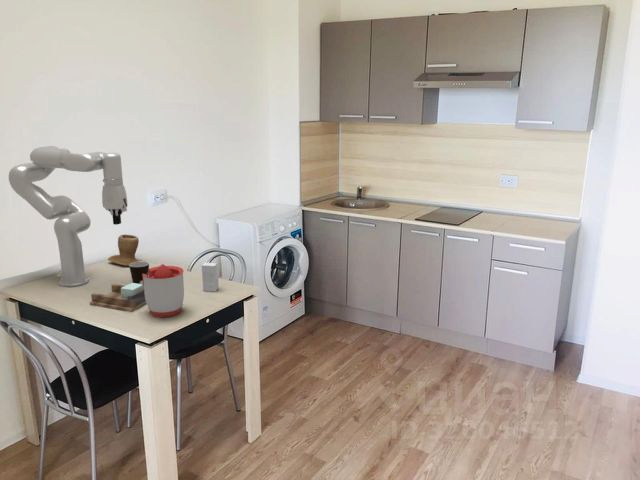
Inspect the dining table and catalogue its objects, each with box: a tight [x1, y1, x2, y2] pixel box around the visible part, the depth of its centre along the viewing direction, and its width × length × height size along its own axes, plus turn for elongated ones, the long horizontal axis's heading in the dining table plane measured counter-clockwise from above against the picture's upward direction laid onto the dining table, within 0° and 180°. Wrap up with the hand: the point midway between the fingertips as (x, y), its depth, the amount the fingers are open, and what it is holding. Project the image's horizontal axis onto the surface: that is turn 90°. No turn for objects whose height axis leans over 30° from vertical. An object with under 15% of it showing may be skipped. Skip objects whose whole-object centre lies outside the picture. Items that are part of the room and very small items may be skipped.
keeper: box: [121, 282, 144, 299], centre depth 222 cm, size 6×7×6 cm
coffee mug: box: [129, 260, 150, 284], centre depth 245 cm, size 12×9×10 cm
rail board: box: [89, 283, 147, 313], centre depth 224 cm, size 21×16×6 cm
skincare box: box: [201, 262, 220, 292], centre depth 238 cm, size 6×4×12 cm
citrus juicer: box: [140, 264, 185, 318], centre depth 212 cm, size 16×17×20 cm
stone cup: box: [107, 234, 140, 267], centre depth 274 cm, size 15×12×15 cm
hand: (117, 223), depth 235 cm, fingers closed
